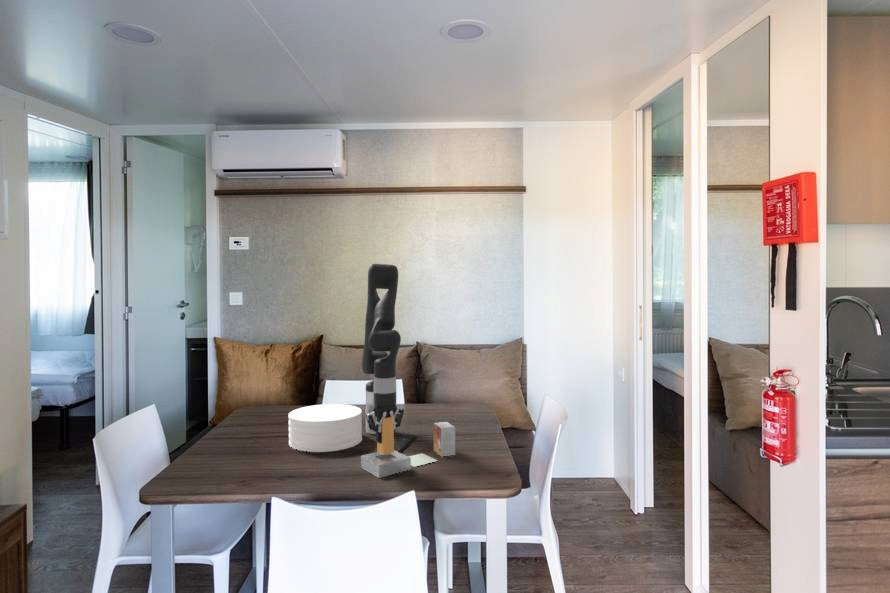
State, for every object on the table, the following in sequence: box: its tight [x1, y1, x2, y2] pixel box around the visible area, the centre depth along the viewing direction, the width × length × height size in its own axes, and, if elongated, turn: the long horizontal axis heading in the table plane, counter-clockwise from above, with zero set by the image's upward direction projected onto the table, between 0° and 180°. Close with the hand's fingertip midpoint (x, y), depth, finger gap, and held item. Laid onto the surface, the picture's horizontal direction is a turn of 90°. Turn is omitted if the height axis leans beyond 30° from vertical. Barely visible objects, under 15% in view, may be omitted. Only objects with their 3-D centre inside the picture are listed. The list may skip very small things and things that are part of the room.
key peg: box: [376, 416, 395, 455], centre depth 180 cm, size 4×4×12 cm
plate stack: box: [287, 403, 363, 453], centre depth 212 cm, size 28×28×12 cm
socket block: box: [360, 450, 412, 479], centre depth 180 cm, size 12×12×4 cm
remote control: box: [394, 434, 418, 453], centre depth 205 cm, size 5×24×1 cm, turn 165°
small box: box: [433, 421, 456, 458], centre depth 195 cm, size 8×6×10 cm
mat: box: [407, 452, 439, 468], centre depth 188 cm, size 10×10×1 cm
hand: (385, 441), depth 180 cm, fingers closed on key peg, 4 cm apart
